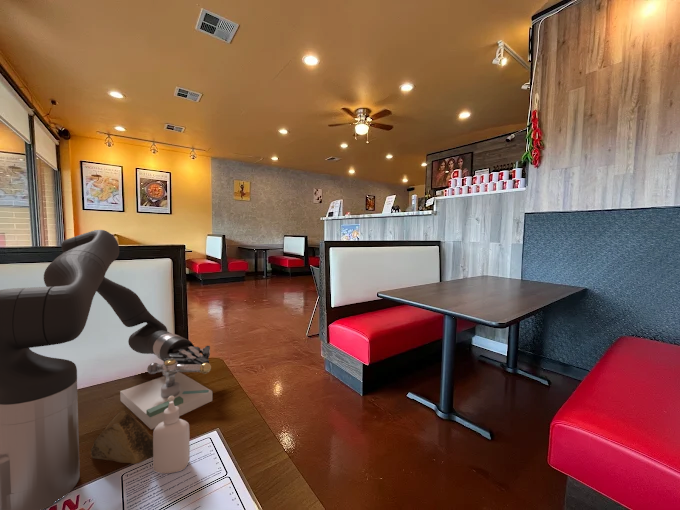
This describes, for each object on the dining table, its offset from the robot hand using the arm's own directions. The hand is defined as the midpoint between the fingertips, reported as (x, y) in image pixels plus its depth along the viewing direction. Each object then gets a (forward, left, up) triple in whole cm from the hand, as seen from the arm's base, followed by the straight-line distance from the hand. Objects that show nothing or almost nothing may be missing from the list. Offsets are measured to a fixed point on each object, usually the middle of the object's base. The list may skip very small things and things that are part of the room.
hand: (205, 365), depth 73 cm
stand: (-6, +7, -9) cm, 13 cm away
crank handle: (-5, +4, -4) cm, 7 cm away
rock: (-19, -6, -9) cm, 22 cm away
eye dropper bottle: (-15, -16, -9) cm, 24 cm away
